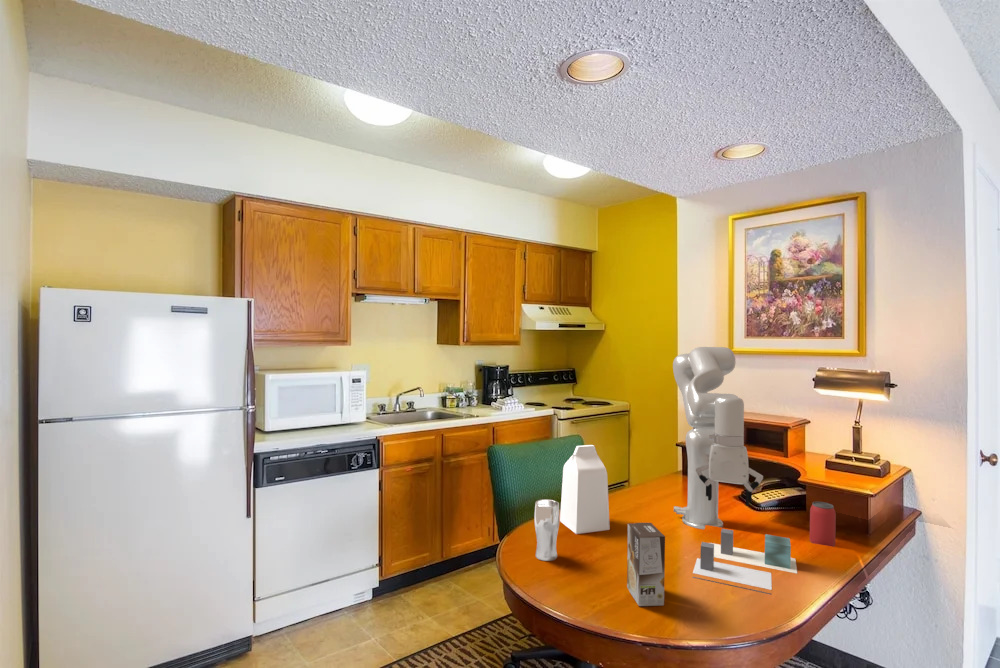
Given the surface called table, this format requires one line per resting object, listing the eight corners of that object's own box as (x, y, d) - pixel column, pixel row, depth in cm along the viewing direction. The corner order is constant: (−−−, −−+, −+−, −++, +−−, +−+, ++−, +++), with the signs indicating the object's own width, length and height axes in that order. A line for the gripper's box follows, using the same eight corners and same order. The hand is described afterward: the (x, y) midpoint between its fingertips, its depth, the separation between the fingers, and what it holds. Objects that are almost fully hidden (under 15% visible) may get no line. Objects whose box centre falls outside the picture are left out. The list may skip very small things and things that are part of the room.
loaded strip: (706, 559, 143) (706, 533, 143) (709, 546, 152) (709, 522, 152) (797, 578, 133) (797, 550, 133) (795, 563, 142) (795, 536, 142)
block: (764, 564, 139) (765, 541, 138) (764, 555, 144) (765, 534, 144) (790, 569, 136) (790, 546, 136) (789, 560, 141) (789, 538, 141)
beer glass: (561, 553, 147) (561, 500, 147) (555, 563, 140) (556, 508, 140) (537, 549, 149) (538, 497, 149) (530, 559, 143) (531, 505, 143)
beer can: (839, 549, 152) (839, 509, 152) (814, 547, 154) (815, 507, 154) (829, 540, 159) (830, 501, 159) (806, 538, 160) (806, 500, 160)
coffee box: (665, 606, 119) (666, 536, 119) (638, 606, 119) (639, 537, 119) (650, 586, 128) (651, 522, 128) (625, 587, 128) (626, 522, 128)
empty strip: (692, 577, 133) (693, 549, 133) (697, 562, 142) (697, 536, 142) (771, 594, 124) (772, 565, 124) (771, 577, 133) (771, 549, 133)
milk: (576, 534, 161) (577, 450, 161) (559, 521, 172) (561, 443, 172) (609, 529, 165) (610, 448, 165) (591, 517, 176) (592, 441, 176)
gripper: (694, 439, 146) (694, 500, 146) (763, 446, 138) (762, 510, 138) (697, 435, 153) (697, 494, 152) (763, 441, 145) (762, 503, 144)
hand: (728, 501), depth 145 cm, fingers open, 9 cm apart
